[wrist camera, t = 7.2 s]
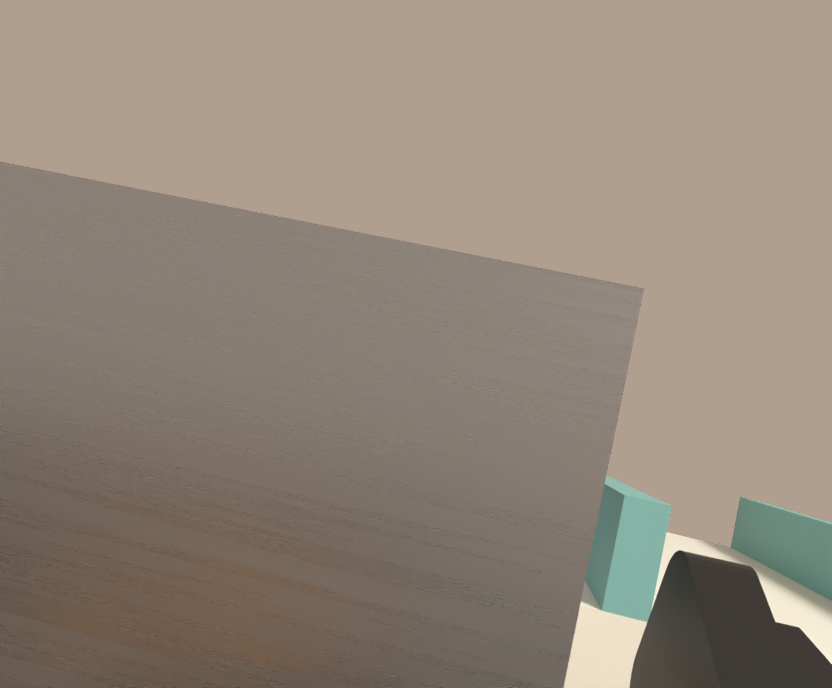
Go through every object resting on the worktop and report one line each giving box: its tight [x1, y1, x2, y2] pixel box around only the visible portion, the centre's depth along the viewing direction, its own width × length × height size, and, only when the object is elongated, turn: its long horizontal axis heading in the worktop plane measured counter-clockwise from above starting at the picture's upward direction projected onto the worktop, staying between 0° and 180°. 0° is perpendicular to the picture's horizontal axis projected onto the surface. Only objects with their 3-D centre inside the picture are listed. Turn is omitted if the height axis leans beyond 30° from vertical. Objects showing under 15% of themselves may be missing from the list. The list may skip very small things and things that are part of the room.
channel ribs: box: [585, 475, 832, 622], centre depth 21 cm, size 18×8×2 cm, turn 174°
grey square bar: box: [0, 162, 644, 688], centre depth 18 cm, size 28×4×4 cm, turn 174°
